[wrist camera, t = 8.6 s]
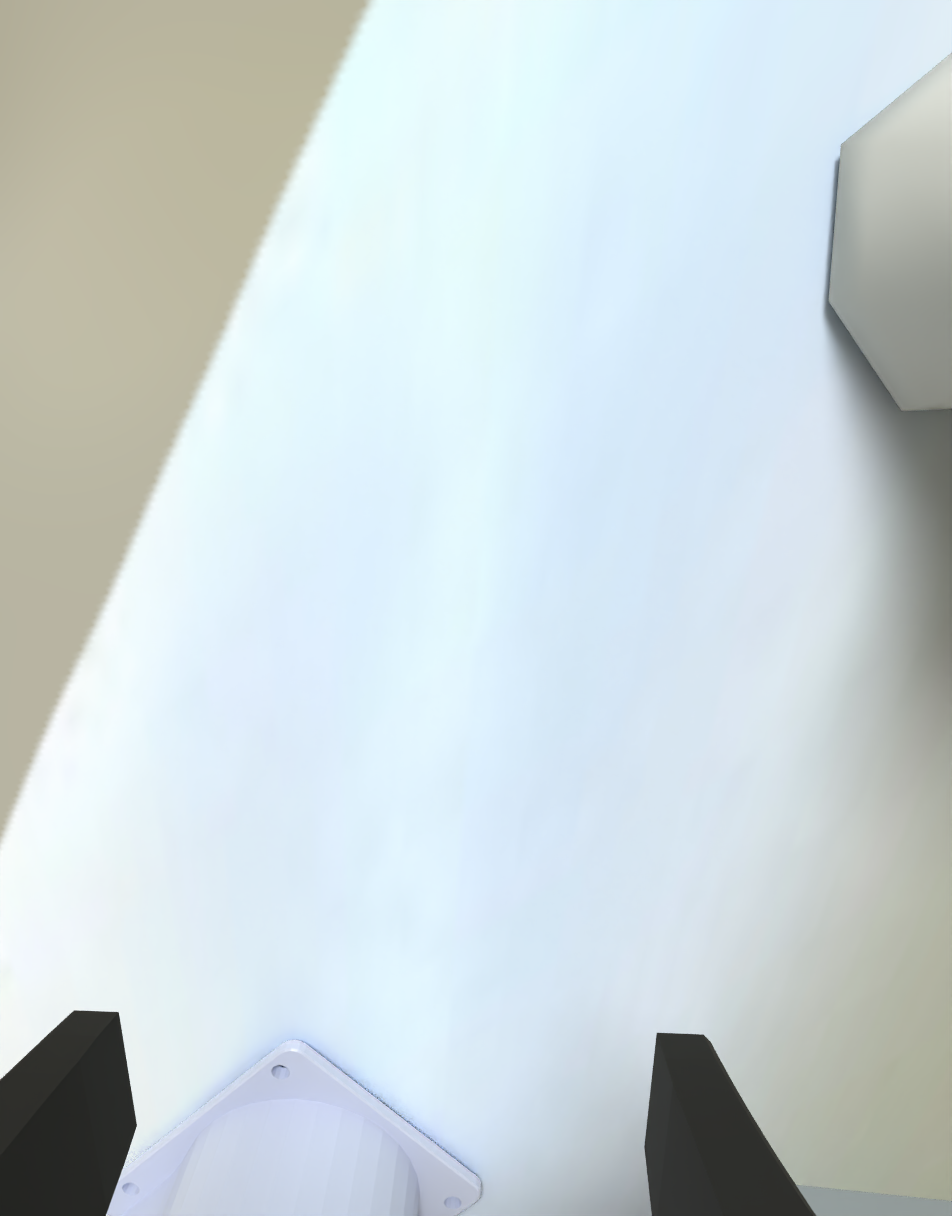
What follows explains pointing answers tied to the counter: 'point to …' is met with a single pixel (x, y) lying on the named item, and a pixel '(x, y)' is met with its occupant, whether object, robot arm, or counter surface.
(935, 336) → the flask
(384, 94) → the counter surface
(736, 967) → the counter surface
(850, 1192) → the slate block
